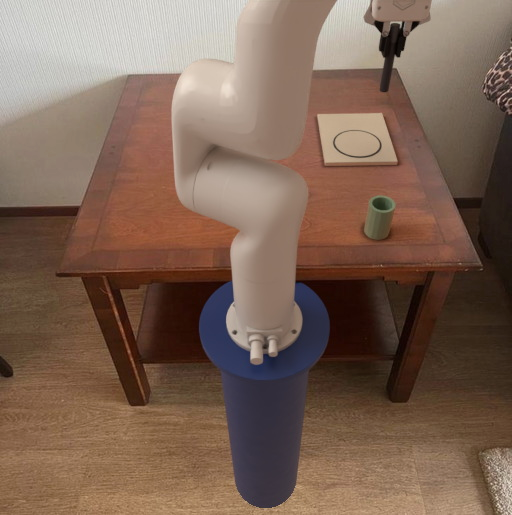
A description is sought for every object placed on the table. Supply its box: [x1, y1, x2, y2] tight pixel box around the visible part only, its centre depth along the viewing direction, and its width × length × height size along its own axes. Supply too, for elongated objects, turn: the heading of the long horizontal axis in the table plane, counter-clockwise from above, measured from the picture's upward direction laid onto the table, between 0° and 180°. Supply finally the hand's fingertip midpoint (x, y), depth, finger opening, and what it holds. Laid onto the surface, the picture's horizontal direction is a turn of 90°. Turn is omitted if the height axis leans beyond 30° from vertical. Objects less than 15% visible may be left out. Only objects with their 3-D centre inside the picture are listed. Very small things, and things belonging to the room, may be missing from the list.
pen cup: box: [363, 194, 397, 241], centre depth 96 cm, size 5×5×7 cm
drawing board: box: [316, 112, 399, 167], centre depth 119 cm, size 20×16×1 cm
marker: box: [379, 22, 401, 93], centre depth 99 cm, size 2×2×13 cm
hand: (390, 53), depth 98 cm, fingers closed on marker, 1 cm apart
